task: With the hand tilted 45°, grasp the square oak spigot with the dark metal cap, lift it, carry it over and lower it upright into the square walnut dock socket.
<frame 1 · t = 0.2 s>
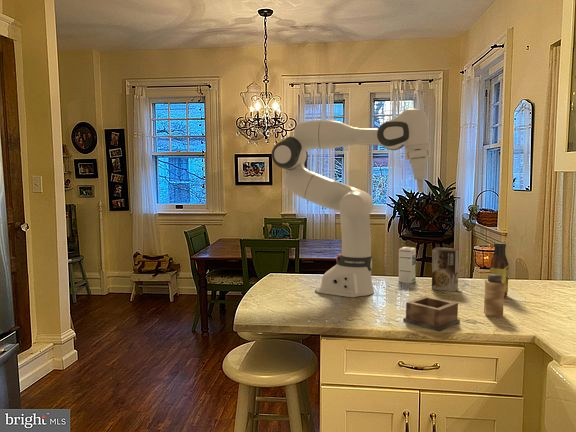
hand: (420, 192, 161), 39 cm above the worktop, tool pointing down, fingers open, 8 cm apart
dock socket: (431, 321, 136), on the worktop
oak spigot: (493, 314, 143), on the worktop
coffee box: (444, 289, 177), on the worktop
syrup box: (406, 282, 189), on the worktop
sauce bottle: (498, 295, 168), on the worktop
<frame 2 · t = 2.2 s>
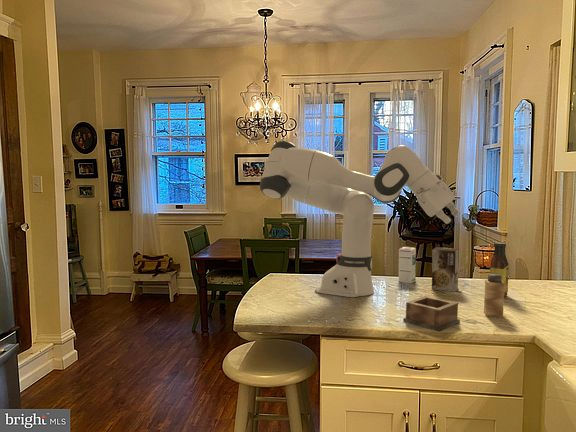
hand: (453, 218, 144), 31 cm above the worktop, tool tilted 40°, fingers open, 8 cm apart
nothing on the worktop moved.
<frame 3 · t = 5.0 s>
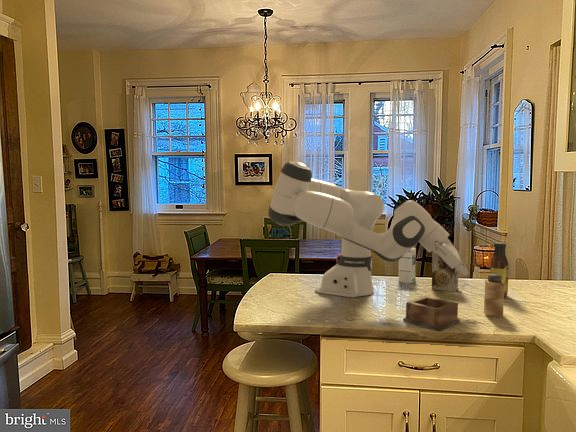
hand: (466, 271, 144), 14 cm above the worktop, tool tilted 45°, fingers open, 8 cm apart
nothing on the worktop moved.
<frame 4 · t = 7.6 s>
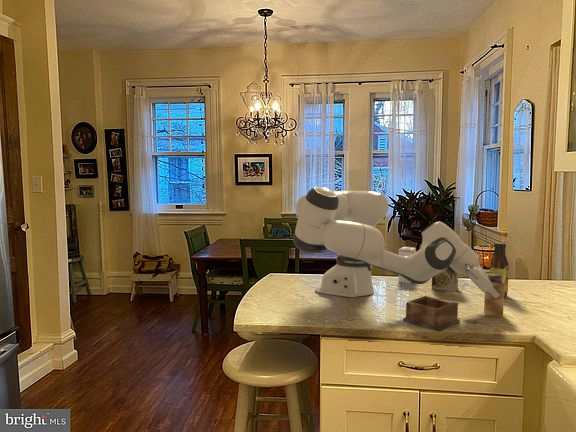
hand: (496, 293, 143), 7 cm above the worktop, tool tilted 45°, fingers closed on oak spigot, 5 cm apart
oak spigot: (493, 314, 143), on the worktop, touching gripper
everything else where it was.
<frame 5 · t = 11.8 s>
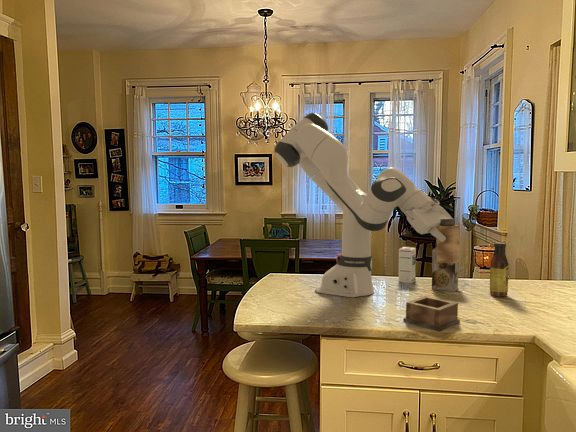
hand: (449, 239, 133), 25 cm above the worktop, tool tilted 50°, fingers closed on oak spigot, 5 cm apart
oak spigot: (448, 261, 134), point 19 cm above the worktop, touching gripper
everything else where it was.
when the fingers open (9 cm above the worktop, at t = 16.0 s): oak spigot drops 2 cm, resting on dock socket.
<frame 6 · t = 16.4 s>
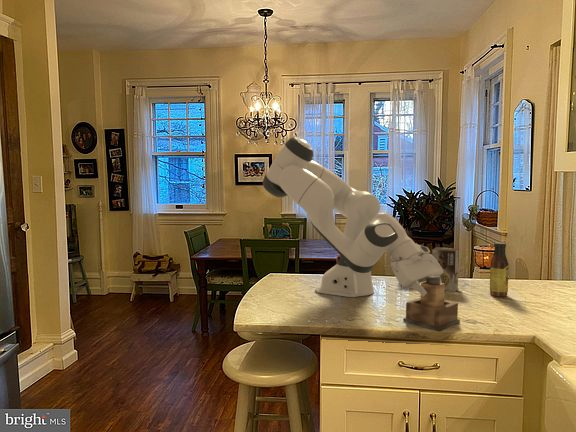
hand: (434, 292, 135), 9 cm above the worktop, tool tilted 45°, fingers open, 8 cm apart
oak spigot: (431, 318, 136), point 1 cm above the worktop, touching dock socket
everything else where it was.
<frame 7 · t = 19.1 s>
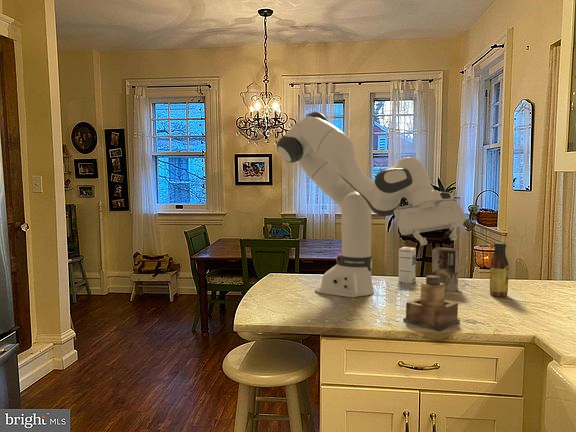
hand: (439, 241, 132), 25 cm above the worktop, tool tilted 35°, fingers open, 8 cm apart
nothing on the worktop moved.
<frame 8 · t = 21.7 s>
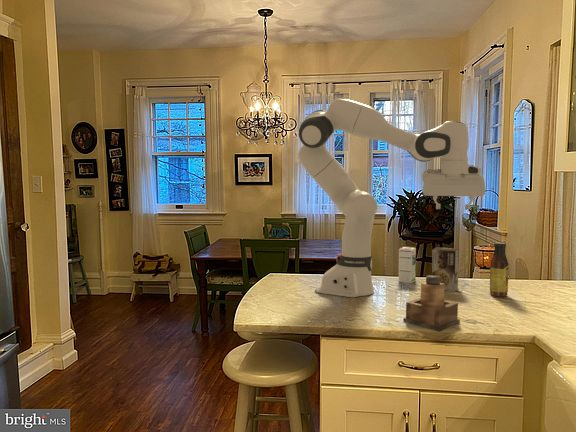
hand: (452, 209, 154), 33 cm above the worktop, tool pointing down, fingers open, 8 cm apart
nothing on the worktop moved.
at the end: oak spigot 0.1 cm off-centre on the dock socket, point 1.0 cm above the dock socket's base; oak spigot tilted 0°; the gripper is holding nothing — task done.
